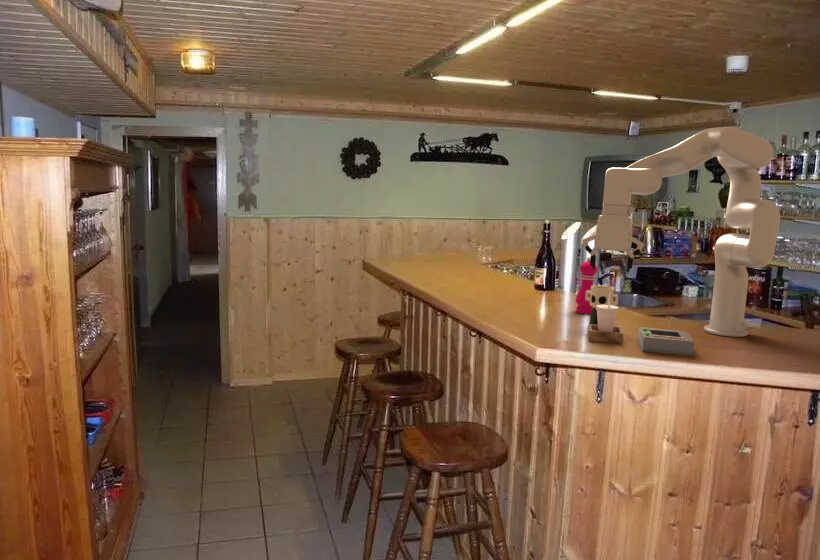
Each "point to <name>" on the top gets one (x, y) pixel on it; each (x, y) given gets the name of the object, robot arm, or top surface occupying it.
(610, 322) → the smoothie
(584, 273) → the pepper mill
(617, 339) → the wooden tray
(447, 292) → the top surface
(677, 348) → the box
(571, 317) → the top surface
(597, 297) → the character mug
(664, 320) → the top surface
